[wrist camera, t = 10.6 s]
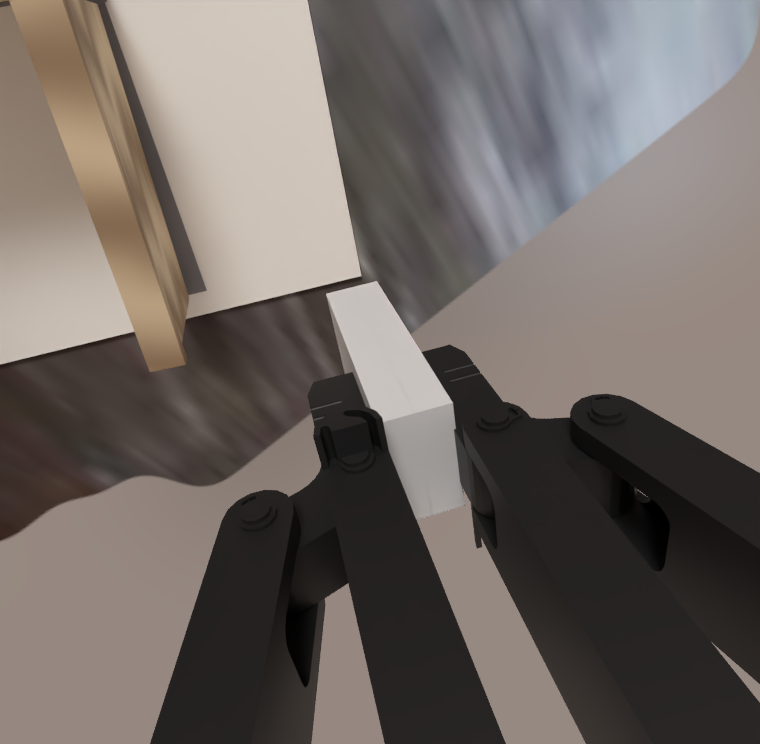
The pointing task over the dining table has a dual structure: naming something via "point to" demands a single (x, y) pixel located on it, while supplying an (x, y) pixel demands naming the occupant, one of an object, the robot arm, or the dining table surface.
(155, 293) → the wooden board
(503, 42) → the dining table surface
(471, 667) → the robot arm
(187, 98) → the card
